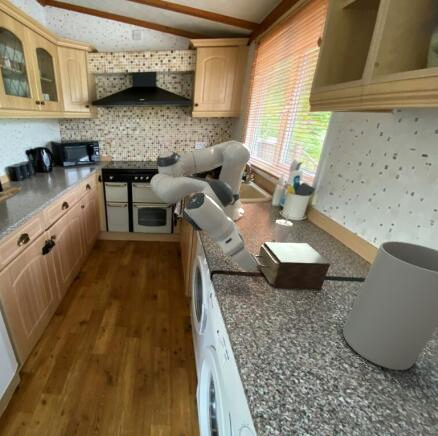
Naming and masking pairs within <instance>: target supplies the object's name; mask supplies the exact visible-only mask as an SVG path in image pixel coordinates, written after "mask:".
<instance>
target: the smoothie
mask: <svg viewBox="0 0 438 436" xmlns="http://www.w3.org/2000/svg"><path fill="white" fill-rule="evenodd" d="M289 215H290V213H289V212H287V213H286V217H285V219H276V220H275V223H274V224H275V229H274V230H275V231H274V241H273V242H276V243H286V240H287V238H288V236H289V234H290V231H291V229H292V228H293V226H294V224H293V222H292V221H289V220H288V219H289Z"/></svg>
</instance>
